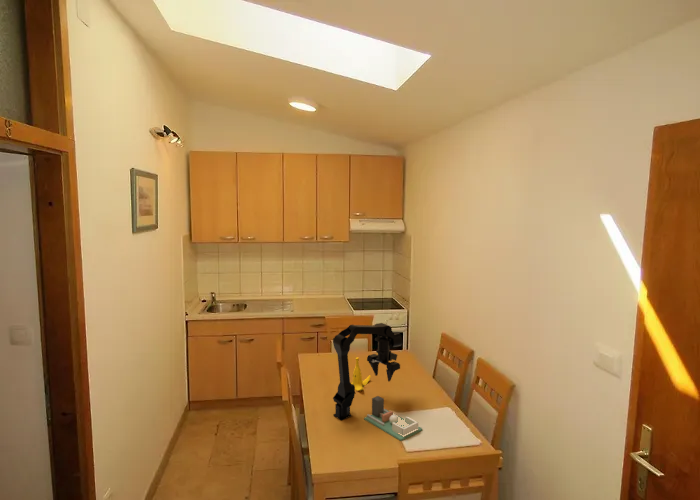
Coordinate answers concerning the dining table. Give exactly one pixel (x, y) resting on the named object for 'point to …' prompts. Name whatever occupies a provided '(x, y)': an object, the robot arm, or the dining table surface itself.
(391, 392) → the dining table surface
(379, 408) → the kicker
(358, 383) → the banana peel
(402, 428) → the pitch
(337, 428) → the dining table surface
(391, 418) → the ball
